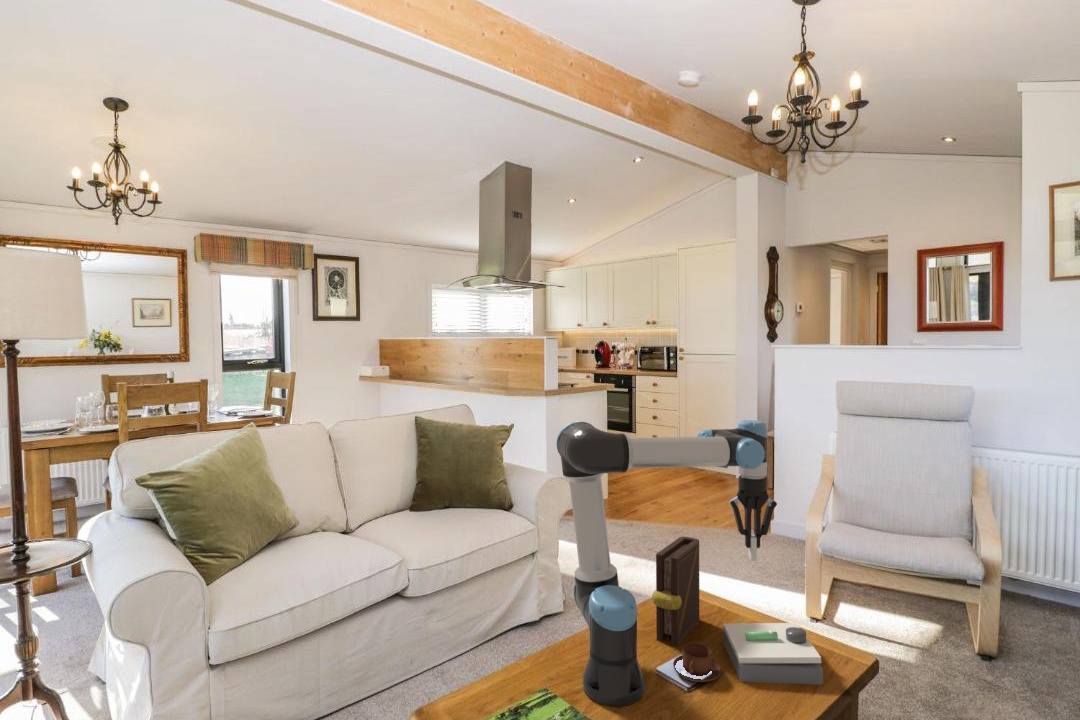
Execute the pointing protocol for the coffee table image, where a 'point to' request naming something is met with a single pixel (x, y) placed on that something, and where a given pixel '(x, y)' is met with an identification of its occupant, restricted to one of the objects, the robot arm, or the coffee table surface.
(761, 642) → the level plate
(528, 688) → the coffee table surface
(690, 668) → the cup and saucer
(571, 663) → the coffee table surface
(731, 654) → the level base
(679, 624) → the book
